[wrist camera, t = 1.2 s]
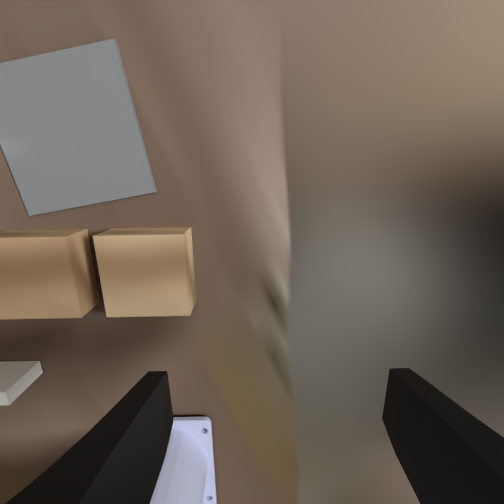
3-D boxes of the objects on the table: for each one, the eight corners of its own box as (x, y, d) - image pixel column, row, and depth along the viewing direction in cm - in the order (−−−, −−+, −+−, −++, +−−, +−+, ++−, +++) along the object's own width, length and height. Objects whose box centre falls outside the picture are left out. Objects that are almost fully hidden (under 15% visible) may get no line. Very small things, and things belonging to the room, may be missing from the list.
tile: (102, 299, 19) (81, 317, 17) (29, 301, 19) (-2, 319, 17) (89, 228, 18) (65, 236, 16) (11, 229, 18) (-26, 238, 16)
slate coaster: (159, 191, 18) (155, 192, 17) (38, 214, 18) (28, 216, 17) (120, 45, 16) (114, 38, 15) (-17, 74, 16) (-30, 69, 15)
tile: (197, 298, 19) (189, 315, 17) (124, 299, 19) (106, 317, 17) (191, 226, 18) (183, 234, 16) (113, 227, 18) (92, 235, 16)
